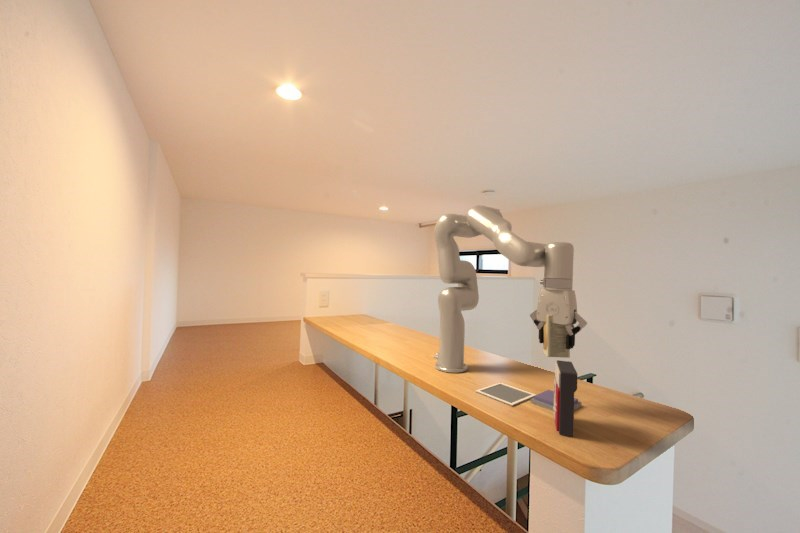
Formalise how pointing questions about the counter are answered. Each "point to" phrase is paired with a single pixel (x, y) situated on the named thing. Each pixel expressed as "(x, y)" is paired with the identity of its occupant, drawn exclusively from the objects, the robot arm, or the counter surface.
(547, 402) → the ink pad
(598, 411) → the counter surface
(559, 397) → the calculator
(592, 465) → the counter surface
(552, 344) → the skincare box
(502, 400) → the white picture frame
